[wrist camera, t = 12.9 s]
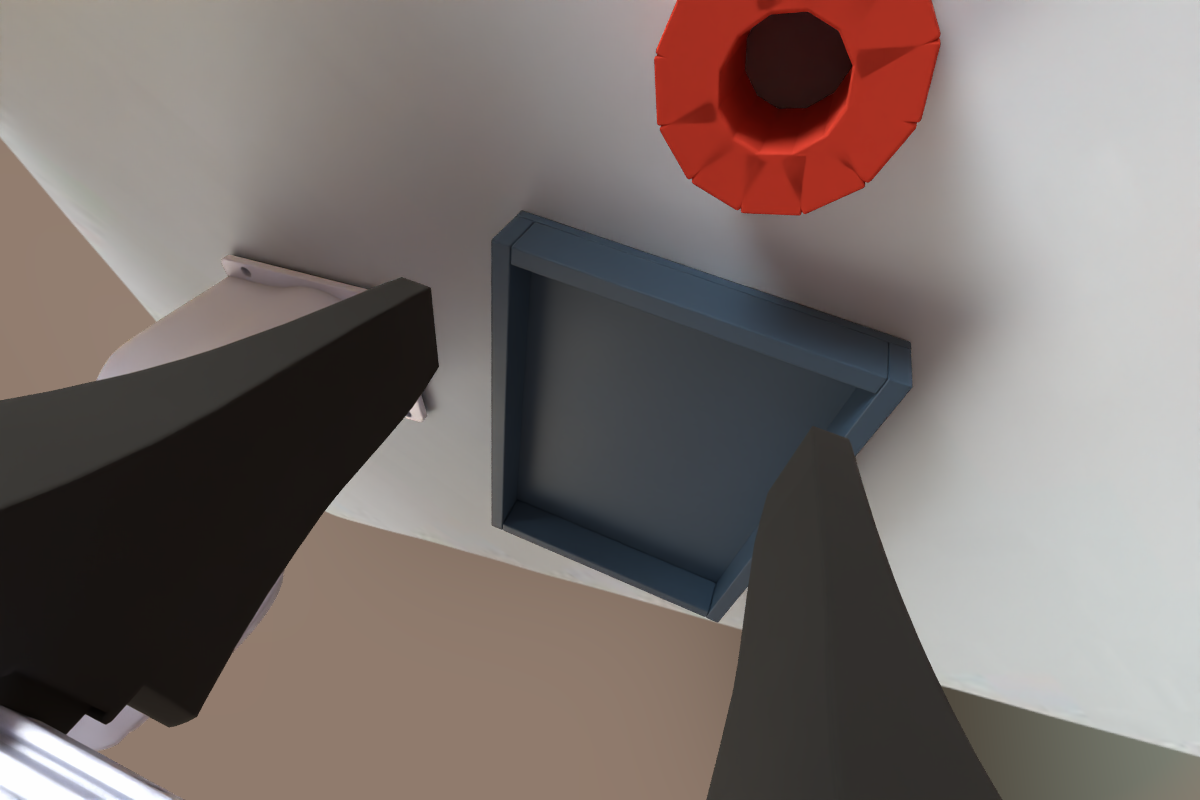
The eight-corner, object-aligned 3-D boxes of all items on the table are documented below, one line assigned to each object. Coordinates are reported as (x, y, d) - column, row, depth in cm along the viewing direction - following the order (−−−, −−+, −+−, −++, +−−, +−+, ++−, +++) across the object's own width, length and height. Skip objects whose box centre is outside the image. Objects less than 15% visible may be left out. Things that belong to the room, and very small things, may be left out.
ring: (691, 162, 16) (660, 210, 14) (689, -80, 12) (647, -66, 10) (895, 165, 14) (895, 220, 12) (962, -118, 11) (979, -110, 8)
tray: (509, 495, 32) (491, 525, 31) (521, 209, 19) (490, 239, 17) (726, 586, 31) (718, 623, 29) (911, 341, 17) (913, 387, 16)
